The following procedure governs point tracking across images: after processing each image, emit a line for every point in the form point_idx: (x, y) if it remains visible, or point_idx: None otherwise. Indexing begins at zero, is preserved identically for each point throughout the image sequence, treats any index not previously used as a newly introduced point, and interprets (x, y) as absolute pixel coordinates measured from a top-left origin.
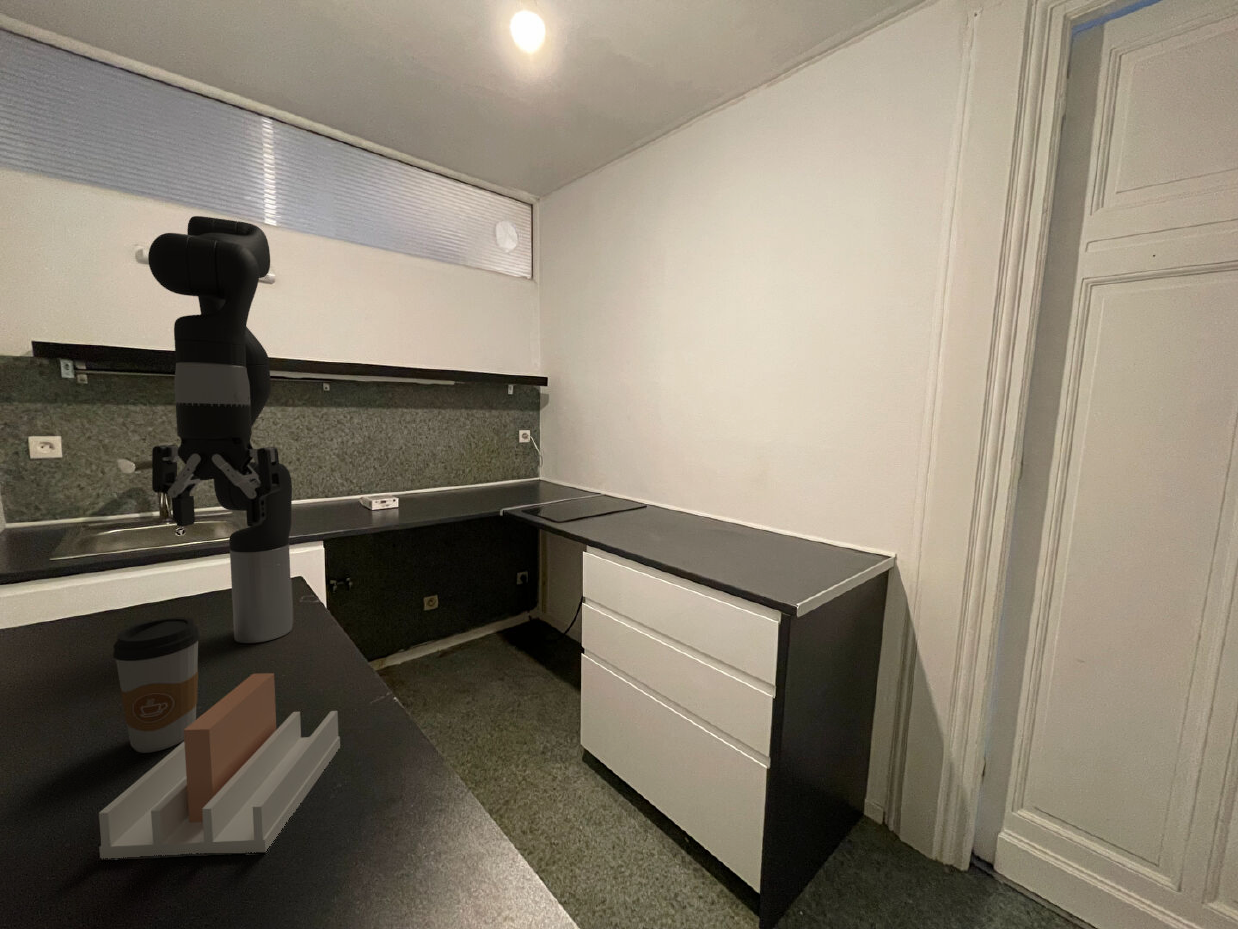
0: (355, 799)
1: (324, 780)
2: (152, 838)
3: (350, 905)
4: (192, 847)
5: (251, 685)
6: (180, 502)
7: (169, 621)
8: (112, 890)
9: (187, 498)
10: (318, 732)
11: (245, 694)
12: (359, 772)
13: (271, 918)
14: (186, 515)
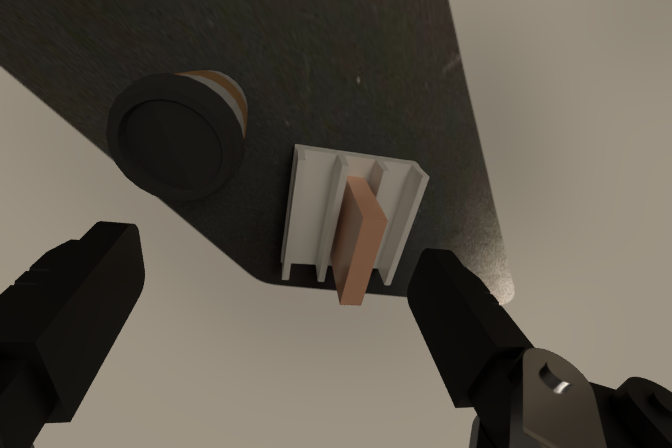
0: (431, 227)
1: None
2: (312, 260)
3: None
4: None
5: (370, 243)
6: (81, 396)
7: (158, 101)
8: (304, 274)
9: (59, 376)
10: (415, 211)
11: (371, 259)
12: (433, 199)
13: (395, 295)
14: (119, 296)
